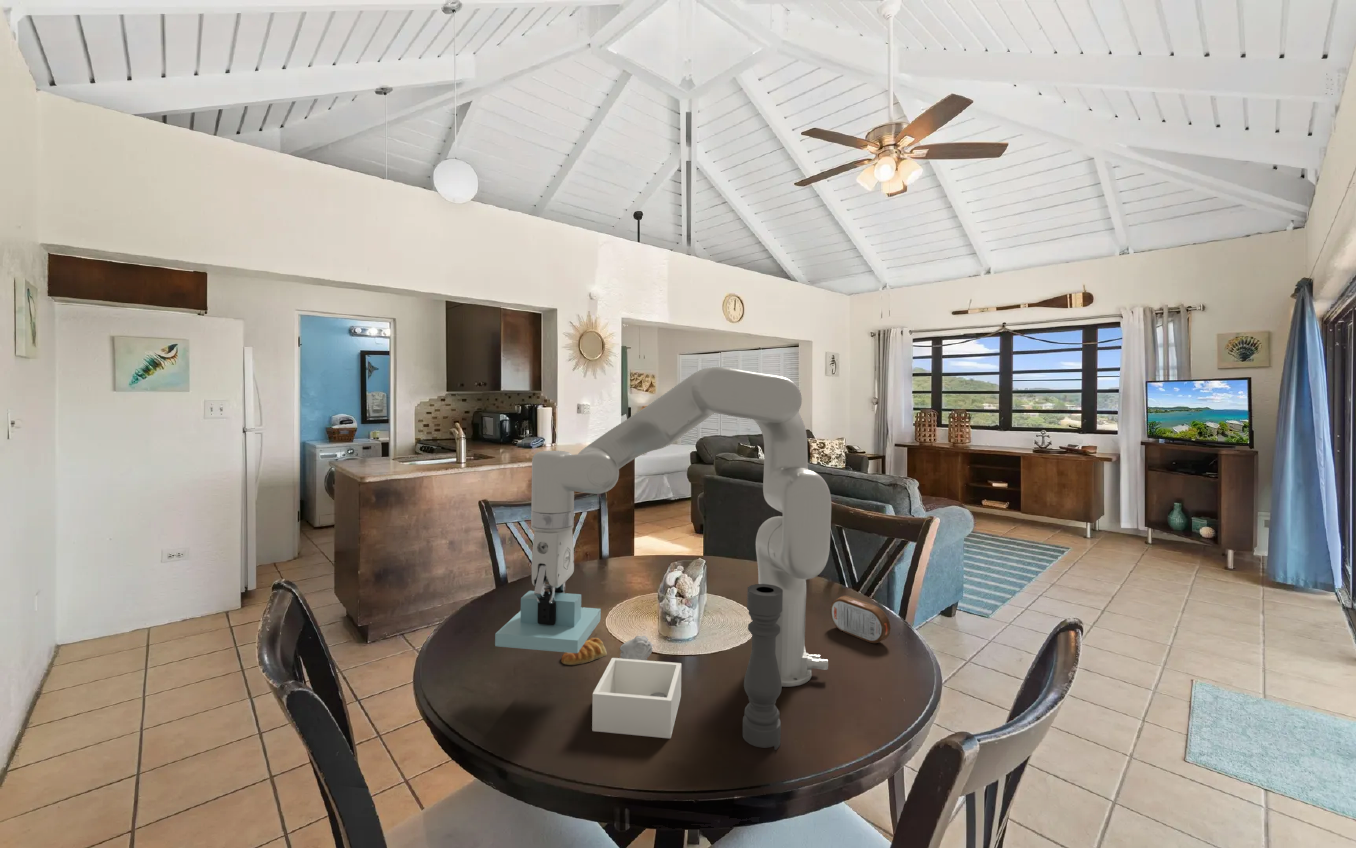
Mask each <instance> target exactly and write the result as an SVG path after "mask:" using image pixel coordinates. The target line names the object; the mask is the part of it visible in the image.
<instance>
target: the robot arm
mask: <svg viewBox="0 0 1356 848" xmlns="http://www.w3.org/2000/svg"><path fill="white" fill-rule="evenodd" d="M802 400H803V398H802V393H801V390H800V389H799V387H798V386H797V384H796V383H795V382H794V381H792V380H791V379H790V378H787V377H784V376H781V375H774V374H766V373H760V372H755V371H753V372H752V371H747V370H741V369H738V368H737V369H736V368H730V367H726V366H725V367H724V366H715V367H707V368H706V367H704V368H702V369H699V370H698V371H697V370H696V371H695V372H694V373H692V374H690V375H689V376H688V377H686V378H685V379H684V380H682V381H680V383H678V384H676V385H675V386H674V387H672V388H671V389H670V390H668V391H666V392H665V393H664V394H663V395H661V396H660V397H658V398H656V399H655V400H654V401H652V402H651V403H649V404H648V405H646V406H645V407H644V408H642V409H640V410H639V411H637V412H636V413H634V414H632V415H631V416H629V417H628V418H627V419H626V420H623V421H622V422H621V423H619V424H618V425H616V426H614V427H613V428H611V429H610V430H607V432H605V433H604V434H602V435H601V436H599V437H598V438H597V439H595V440H593V442H590V444H588V445H587V446H586V447H584V448H583V449H582V450H580V451H579V452H578V453H577V454H572V453H571V452H569V451H565V450H564V451H562V450H542V451H538V452H536V453H535V454H534V455H532V459H531V505H530V506H531V507H530V508H531V512H530V513H531V514H530V515H531V516H530V519H531V522H530V523H531V524H530V529H532V530H533V543H532V553H531V583H532V585H533V586H534V590H533V591H534V594H535V595H536V596H537V603H538V624H543V625H554V624H555V623H556V602H554V596H555V592H556V593H566V592H565V591H566V582H567V580H568V579H570V577H571V576H572V575H573V573H574V571H575V555H574V554H575V551H574V534H573V533H574V532H573V529H574V527H575V526H574V525H575V518H574V517H575V492H578V493H584V494H595V495H598V494H605V493H607V492H609V491H610V490H612V489H614V487H615V486H616V485H617V483H618V480H619V477H620V469H621V468H622V467H624V466H626V464H628V463H631V462H632V461H633V460H634V459H637V458H638V457H640V456H643V455H644V454H647V453H650V452H654V451H657V450H660V449H664V448H666V447H668V446H671V445H672V444H674V443H675V442H677V441H679V439H681V438H682V437H683V436H685V435H686V434H688V433H689V432H690V431H692V430H693V429H694V428H696V427H698V426H699V425H700V424H701V423H703V422H704V421H706V420H707V419H708V418H710V417H711V416H713V415H714V414H717V415H724V416H729V417H734V418H741V419H742V418H743V419H747V420H753V421H754V422H755V423H756V425H757V426H758V427H759V429H760V432H761V434H762V437H763V450H764V454H763V455H764V457H763V458H764V459H763V461H764V462H763V479H762V480H763V483H762V492H763V497H764V500H765V502H766V503H767V505H768V506H770V507H771V508H772V509H774V510H776V511H778V512H780V513H781V514H782V516H781V515H778V516H772V517H770V518H768V519H766V520H765V521H764V522H762V524H761V525H760V526H759V527H758V529H757V533H756V536H755V553H756V562H757V569H758V570H757V573H758V574H757V575H758V584H769V585H774V586H777V587H780V588H781V589H782V590H783V604H782V612H781V613H780V617H779V619H778V621H777V622H776V623H777V624H778V625H779V626H780V633H779V634H778V635H777V637H776V650H775V653H776V658H777V663H778V668H779V673H780V678H781V683H782V687H785V688H786V687H787V688H788V687H796V686H797V687H798V686H801V685H804V684H806V683H807V682H808V681H810V680H811V678H812V672H813V671H812V670H813V669H818V670H824V671H825V670H826V671H827V670H829V660H828V659H827V658H826V659H825V658H821V654H815V653H814V654H809V652H807V651H806V646H805V643H806V642H805V641H806V640H805V639H806V637H805V636H806V608H807V607H806V603H807V580H812V579H814V578H816V577H817V576H818V575H820V574H821V573H822V572H823V571H824V569H825V567H826V565H827V564H828V560H829V555H830V549H831V548H830V547H831V529H832V528H831V527H832V526H831V523H832V495H831V491H830V488H829V486H828V484H827V482H826V481H825V479H824V478H823V477H822V476H821V475H820V474H818V473H817V472H815V471H813V470H811V469H809V467H808V463H809V460H808V459H809V458H808V454H809V453H808V434H807V430H806V426H805V423H804V421H803V418H802V417H801V415H800V413H799V411H800V409H801V406H802V402H803V401H802ZM546 582H547V583H548V584H546ZM547 590H549V591H547ZM548 592H550V595H549V593H548Z"/></svg>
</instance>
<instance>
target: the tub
mask: <svg viewBox="0 0 1356 848" xmlns="http://www.w3.org/2000/svg"><path fill="white" fill-rule="evenodd" d="M656 692H660V693H664V694H665V695H666V696H667V698H665V697H654V696H650V695H651V694H653V693H656ZM681 698H682V663H681V662H671V661H658V660H656V661H655V660H648V659H647V660H634V659H621V657H619V658H618V657H611V659H610V661H609V663H608V665H607V666H606V668H605V670H604V672H603V674H602V676H601V677H600V679H599V681H598V683H597V685H596V687H595V688H594V689H593V692H592V705H591V706H592V711H591V712H592V713H591V714H592V715H591V716H592V720H591V721H592V723H591V724H592V726H591V729H592V732H598V733H599V732H600V733H610V734H620V735H630V736H631V735H632V736H640V737H641V736H642V737H652V738H662V739H669V740H670V739H671V738H672V734H673V730H674V727H675V721H676V717H677V714H678V709H679V706H680V703H681Z"/></svg>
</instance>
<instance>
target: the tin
mask: <svg viewBox="0 0 1356 848" xmlns="http://www.w3.org/2000/svg"><path fill="white" fill-rule="evenodd" d="M829 614H830V619H831V621H832V623H833V625H834V626H835V627H836V628H837V629H838V630H839V631H840V632H842V631H843V633H846V634H848V635H849V636H853V637H855V638H858V639H860V640H862V641H865V642H867V643H870V644H877V643H881V642H882V641H885V640H886V639H887V638H888V637H889V636H890V634H891V622H890V619H889V617H888V616H887V614H886V612H885V611H884V610H883V609H882V608H880V607H879V606H877V605H875V604H872V603H869V602H867V601H863V600H860V599H858V598H854V597H852V596H850V595H841V596H839V597H838V598H836V599H834V600H833V601H832V602H831V603H830V608H829Z"/></svg>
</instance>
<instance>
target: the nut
mask: <svg viewBox="0 0 1356 848" xmlns="http://www.w3.org/2000/svg"><path fill="white" fill-rule="evenodd" d="M650 696H654V697H665V698H667V696H666V695H665V694H664V693H660V692H656V693H653V694H651V695H650Z"/></svg>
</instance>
